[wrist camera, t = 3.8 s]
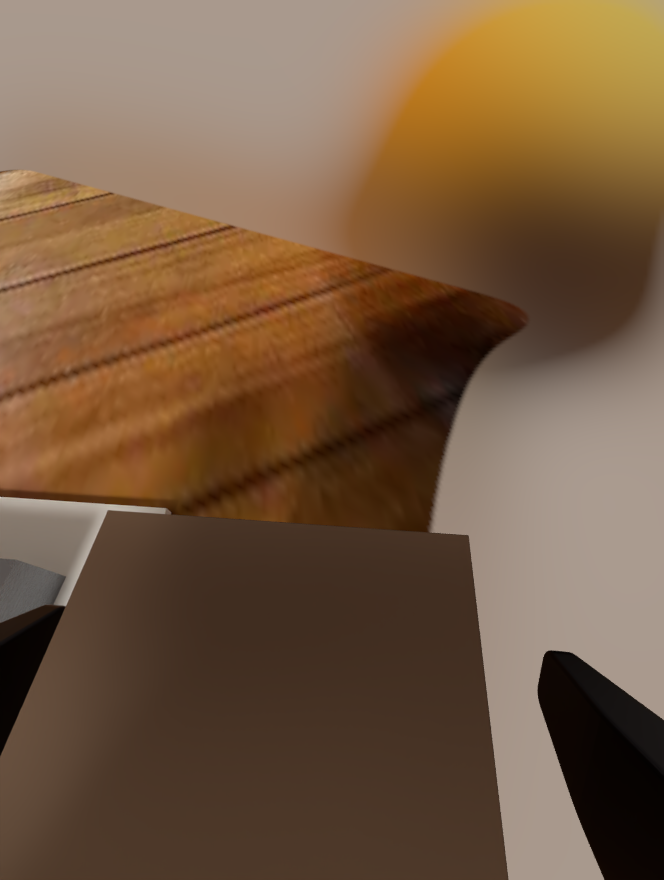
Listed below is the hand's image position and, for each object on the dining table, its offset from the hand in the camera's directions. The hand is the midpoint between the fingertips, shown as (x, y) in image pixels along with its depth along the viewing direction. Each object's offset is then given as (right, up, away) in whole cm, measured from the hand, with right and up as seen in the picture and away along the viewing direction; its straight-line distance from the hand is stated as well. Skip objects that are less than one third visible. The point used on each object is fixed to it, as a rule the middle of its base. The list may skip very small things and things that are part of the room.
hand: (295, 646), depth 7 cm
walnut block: (0, -5, +5) cm, 7 cm away
